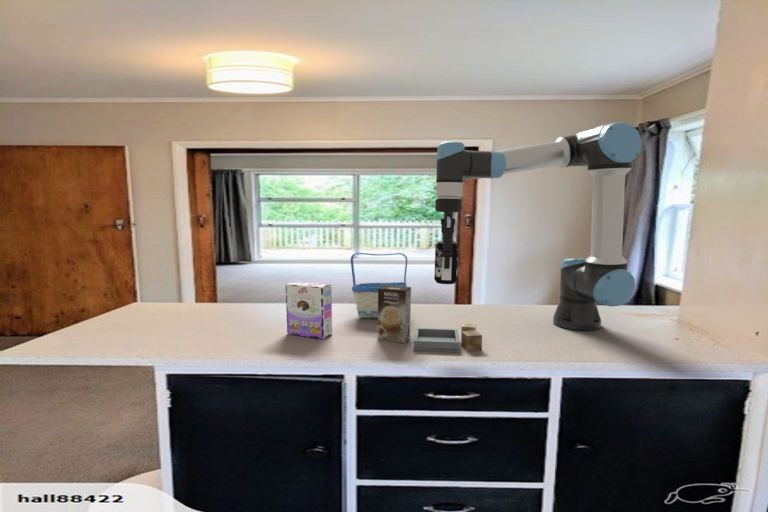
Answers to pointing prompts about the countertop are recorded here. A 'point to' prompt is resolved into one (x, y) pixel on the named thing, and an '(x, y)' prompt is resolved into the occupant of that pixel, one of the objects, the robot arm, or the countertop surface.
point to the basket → (370, 292)
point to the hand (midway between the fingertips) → (445, 277)
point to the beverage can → (439, 263)
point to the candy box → (309, 309)
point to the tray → (436, 340)
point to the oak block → (468, 327)
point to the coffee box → (394, 313)
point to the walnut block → (471, 340)
